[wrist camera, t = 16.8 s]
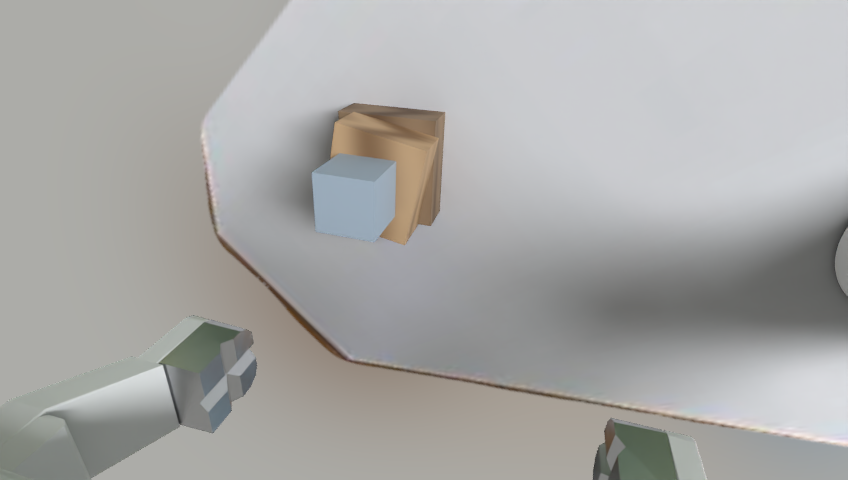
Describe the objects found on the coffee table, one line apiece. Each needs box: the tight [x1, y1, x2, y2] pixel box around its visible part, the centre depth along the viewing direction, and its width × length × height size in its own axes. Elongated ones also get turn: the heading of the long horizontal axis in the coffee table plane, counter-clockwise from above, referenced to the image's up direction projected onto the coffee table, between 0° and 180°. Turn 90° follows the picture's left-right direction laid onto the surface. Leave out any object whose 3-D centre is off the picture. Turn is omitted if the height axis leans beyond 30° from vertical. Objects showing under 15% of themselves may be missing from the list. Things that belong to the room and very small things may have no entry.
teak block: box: [330, 112, 439, 245], centre depth 42 cm, size 8×9×4 cm
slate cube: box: [312, 153, 396, 242], centre depth 38 cm, size 5×5×5 cm
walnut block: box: [338, 103, 445, 226], centre depth 45 cm, size 9×10×4 cm
